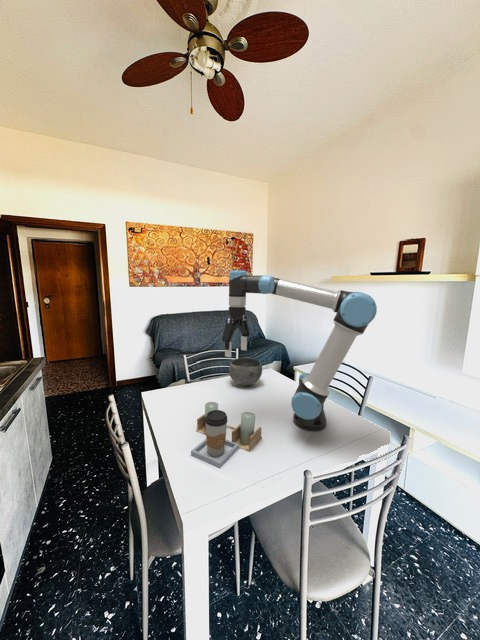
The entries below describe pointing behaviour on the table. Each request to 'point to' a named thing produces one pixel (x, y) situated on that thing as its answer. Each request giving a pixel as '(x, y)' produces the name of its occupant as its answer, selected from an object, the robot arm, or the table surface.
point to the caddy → (233, 434)
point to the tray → (213, 461)
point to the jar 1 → (210, 408)
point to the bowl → (245, 371)
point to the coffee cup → (216, 432)
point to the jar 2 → (247, 427)
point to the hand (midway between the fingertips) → (236, 353)
